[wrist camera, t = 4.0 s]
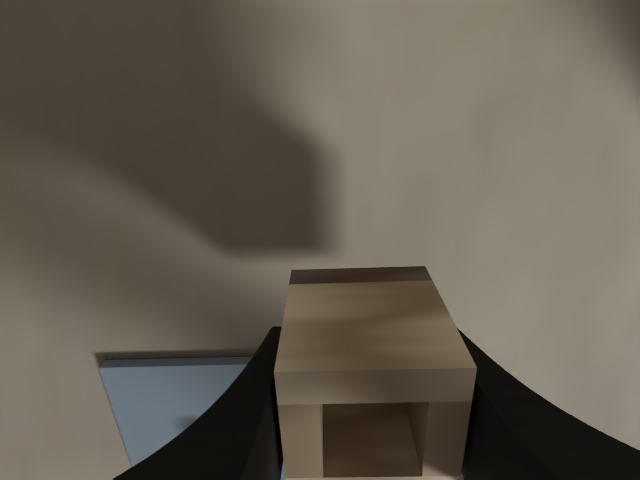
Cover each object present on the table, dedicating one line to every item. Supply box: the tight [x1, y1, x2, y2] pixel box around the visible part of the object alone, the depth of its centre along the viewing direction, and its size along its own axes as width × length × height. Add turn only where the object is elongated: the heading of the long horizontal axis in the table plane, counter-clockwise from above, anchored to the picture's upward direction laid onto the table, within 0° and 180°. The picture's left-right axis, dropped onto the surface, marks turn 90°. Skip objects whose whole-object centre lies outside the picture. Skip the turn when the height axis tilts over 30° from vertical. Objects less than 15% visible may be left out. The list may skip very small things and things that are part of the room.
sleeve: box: [274, 266, 477, 480], centre depth 12 cm, size 5×5×5 cm
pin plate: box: [99, 356, 286, 480], centre depth 21 cm, size 12×12×3 cm
